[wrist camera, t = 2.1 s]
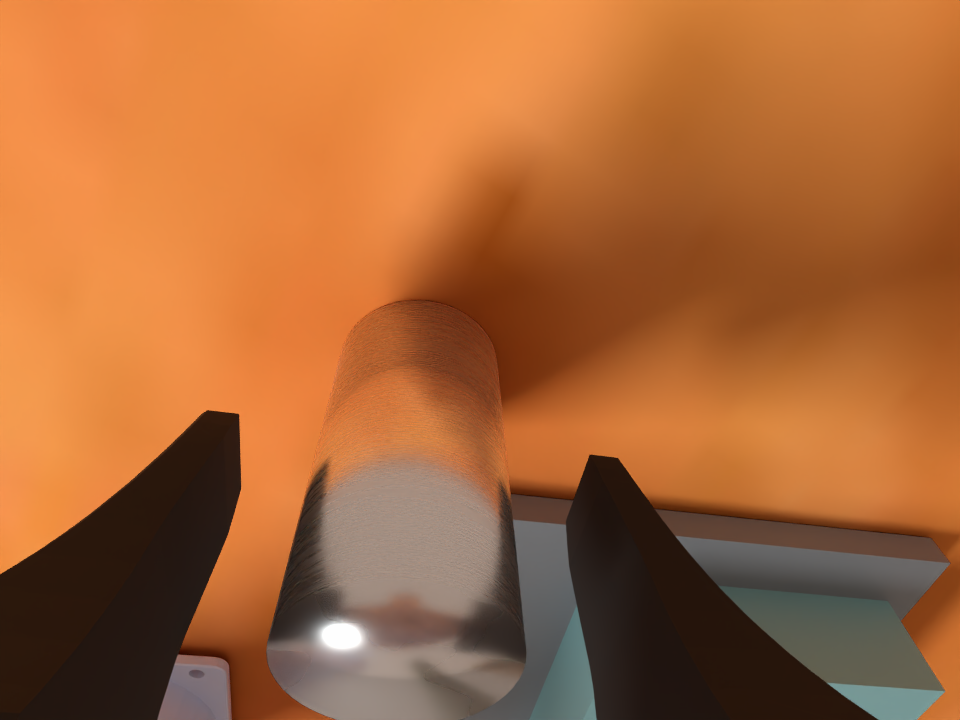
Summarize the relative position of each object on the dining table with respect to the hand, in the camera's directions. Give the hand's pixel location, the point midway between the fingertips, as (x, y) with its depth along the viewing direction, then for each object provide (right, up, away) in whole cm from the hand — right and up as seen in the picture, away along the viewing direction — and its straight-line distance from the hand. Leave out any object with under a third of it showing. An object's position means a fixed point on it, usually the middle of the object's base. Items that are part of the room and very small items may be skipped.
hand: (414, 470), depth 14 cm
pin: (0, +2, +3) cm, 4 cm away
